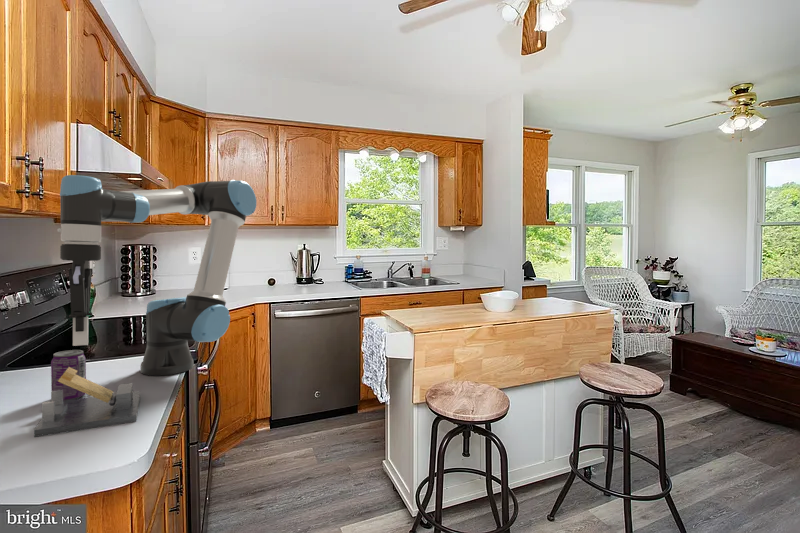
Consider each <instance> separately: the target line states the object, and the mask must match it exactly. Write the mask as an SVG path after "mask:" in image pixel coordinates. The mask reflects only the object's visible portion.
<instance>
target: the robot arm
mask: <svg viewBox="0 0 800 533" xmlns="http://www.w3.org/2000/svg"><path fill="white" fill-rule="evenodd" d="M59 191H60V192H59V197H60V198H59V199H60V200H59V201H60V227H59V228H57V233H60V241H61V242H63V244H61V245H60V248H59V251H60V253H59V255H60V256H59V258H60V259H61V261H71V262H72V263H71V268H69V269H68V281H69V293H70V294H69V295H70V296H69V297H70V314H69V315H68V318H69V319H72V346H73V347H74V346H75V347H76V346H77V347H78V346H87V345H89V317H90V316H93V312H91V292H92V291H91V290H92V277H93V273H94V271H93V268H92V267H91V268H90V262H91V261H92V262H93V261H94V262H95V261H96V262H98V261H100V260H101V259H102V247H101V244H99V243H101V242H102V222H103V223H104V222H106V223H107V222H113V223H114V222H117V223H118V222H119V223H120V222H122V223H124V222H125V223H129V224H132V223H133V224H134V223H138V224H139V223H143V222H144V221H146V220H147V219H148V217H149V216H155V215H164V214H165V215H166V214H175V213H179V214H181V215H204V216H205V215H206V216H208V217H209V219H210V220H211V221H210V225H209V230H208V233H207V237H206V241H205V244H204V249H203V252H202V256H201V261H200V264H199V268H198V273H197V276H196V281H195V284H194V289H193V290H192V291H191V292H189V293H188V294H186V296H183V297H173V298H172V297H171V298H165V299H164V298H163V299H157V300H151V301H148V303H147V305H146V312H145V319H146V320H145V322H146V325H145V326H146V348H145V351H144V355H143V360H142V361H141V363H140V369H139V370H140V373H141V374H142V375H146V376H153V377H155V376H157V377H159V376H169V375H170V376H171V375H175V374H176V375H178V374H181V373H185V372H187V371H190V370H192V369H193V368H194V362H195V361H194V358H193V356H192V355H191V350H190V347H189V343H188V342H189V341H193V342H197V343H198V342H199V343H211V342H215V341H218V340H219V339H220V338H221V337H223V336H224V335H225V334H226V333H227V330H228V329H229V327H230V322H231V315H230V311H229V309H228V307H227V306H226V304H227V301H226V299H225V298H224V291H225V286H226V282H227V278H228V274H229V269H230V267H231V266H230V264H231V261H232V257H233V252H234V249H235V245H236V240H237V236H238V231H239V228H240V227H242V226H243V225H245V222H246V218H247V217H248V216H251V215H252V214H254V212H256V208H257V196H256V194H255V191H254V189H253V188H252V186H251V185H250V184H249V183H248V182H247V181H244V180H236V179H231V180H217V181H216V180H215V181H214V180H212V181H211V180H210V181H209V180H208V181H204V182H203V181H202V182H196V183H192V184H184V185H183V184H181V185H177V186H175V188H164V189H163V188H162V189H144V190H143V189H142V190H141V189H140V190H138V189H137V190H121V191H119V190H114V189H107V188H103V185H102V181H101V179H100V178H98V177H93V176H87V175H78V174H67V175H65V176H63V177H62V178H61V183H60V190H59Z"/></svg>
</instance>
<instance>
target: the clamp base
mask: <svg viewBox="0 0 800 533" xmlns="http://www.w3.org/2000/svg"><path fill="white" fill-rule="evenodd" d="M133 386H134V384H133V382H129V383H122V384H119V385H118V386H117V391H116V392H117V393H116V403H115V405H113V406H110V405H109V403H110V401H109V402H108V403H107V402H104V401H102V400H100V399H97V398H95V397H93V396H89V397H88V396H87V397H80V398H78V399H72V400H64V401H63V389H62V390H54V391H52V392H51V391H50V400H51V401H43V402H42V404H41V410H42V411H41V417H42V418H41V420H40V421H39V423H38V424H37V425H36V426H35V428H34V430H33V437H34V438H39V437H46V436H53V435H58V434H64V433H70V432H77V431H84V430H89V429H95V428H103V427H108V426H109V427H110V426H115V425H121V424H123V425H124V424H128V423H134V422H137V420H138V419H137V418H138V414H139V413H138V412H139V405H140V400H141V390H137V391H133V389H134V388H133ZM110 400H111V399H110Z"/></svg>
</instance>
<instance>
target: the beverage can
mask: <svg viewBox="0 0 800 533" xmlns="http://www.w3.org/2000/svg"><path fill="white" fill-rule="evenodd" d="M86 359H87V358H86V356H85V354H84V350H81V349H72V350H71V349H70V350H62V351H58V352H55V353H53V358H52V359H51V361H50V371H51V372H50V374H51V375H50V376H51V377H50V380H51V383H50V384H51V388H50V389H51V390H50V393H51V392H52V391H54V390H62V389H63V401H64V400H72V399H80V398H82V397H83V396H85V395H87V394H86V393H83V392H81V391H79V390H77V389H74V388H72V387H70V386H67V385H65V384H63V383H60V382H58V380H59V379H60V378H61V376H62V375H63V374H64V372H65V371H66V370H67V369H68V368H69V367H70V368H73V369H75V370H77V373H76V375H78V376H80V377H82V378H85V379H87V367H86V366H87V364H86V363H87V362H86Z"/></svg>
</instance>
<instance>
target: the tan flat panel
mask: <svg viewBox="0 0 800 533" xmlns="http://www.w3.org/2000/svg"><path fill="white" fill-rule="evenodd" d="M76 373H77V370H75V369H73V368H70V367H69V368H68V369H67V370H66V371H65V372H64V374H63V375H62V376H61V378H60V379H59V380H58V382H60V383H63V384H65V385H67V386H70V387H72V388H74V389H77V390H79V391H81V392H83V393H86V394H85V395H88V396H89V397H95V398H97V399H100V400H102V401H104V402H107V403H108V402H109V401H110V403H109V405H110V406H113V405H115V403H116V393H117V391H114V390H111V389H109V388H107V387H104V386H102V385H100V384H98V383H96V382H93V381H91V380H88V379H87V378H86V379H85V378H82V377H80V376H78V375H76ZM110 399H111V400H110Z"/></svg>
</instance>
